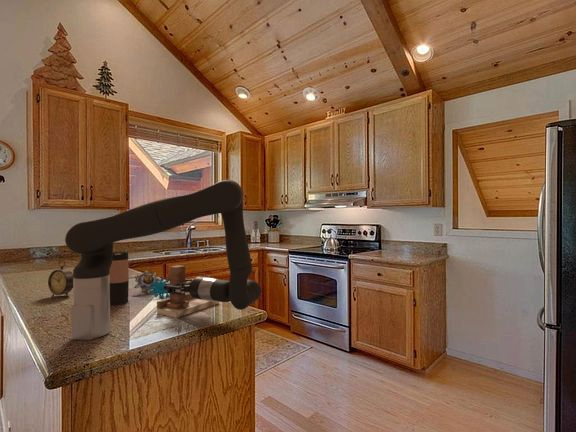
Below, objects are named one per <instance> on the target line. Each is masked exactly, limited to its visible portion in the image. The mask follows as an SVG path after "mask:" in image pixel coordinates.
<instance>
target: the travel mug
mask: <svg viewBox="0 0 576 432" xmlns="http://www.w3.org/2000/svg"><path fill="white" fill-rule="evenodd" d="M129 270H130V269H129V252H123V251H121V252H120V251H119V252H113V259H112V265H111V267H110V306H111V305H112V306H115V305H116V306H118V305H123V304H127V303H128V302H129V286H130V285H129V283H130V278H129V277H130V276H129V275H130V274H129V272H130V271H129Z"/></svg>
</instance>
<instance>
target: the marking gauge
mask: <svg viewBox="0 0 576 432" xmlns="http://www.w3.org/2000/svg"><path fill="white" fill-rule="evenodd" d="M185 279H186V265H178V264H177V265H172V266H169V283H170V284H177V283H179V282H185ZM182 285H183V284H181V285H180V287H181V288H182ZM169 298H170V302H169V303H167V308H171V309H176V310H177V309H180V308H183V307H186V306H189V301H186V293H181V294H180V295H178V294H171V293H169Z"/></svg>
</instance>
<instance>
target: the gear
mask: <svg viewBox="0 0 576 432" xmlns="http://www.w3.org/2000/svg"><path fill="white" fill-rule="evenodd" d="M164 279H165V278H163V277H160V280H161V281H160V282H159V283H158V279H155V282H156V285H155V284H154V282H152V283H151V285H153V286H154V287H155V288H153V287H152V286H150V290H151V291H150V294H151V295H153V294H154V297H155V298H158V297H159V298H160V299H164V295H165V298H170V293H167V290H164V284H165V283H169V284H170V279H168V278H166V279H165V281H164Z"/></svg>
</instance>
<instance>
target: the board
mask: <svg viewBox="0 0 576 432" xmlns="http://www.w3.org/2000/svg"><path fill="white" fill-rule="evenodd" d="M186 301H189V306H186V307H183V308H180V309H177V310H176V309H171V308H167V303H169V302H170V297H167V298H165V299H164V298H163V299H161V300H157V301H156V314H157V315H160V314H161V316H164V315H166V316H165V317H169V316H170V318H174V317H175V318H174V319H178V318H180V316H181V317H184V316H187V315H189V314H192V313H194V312H198V311H200V310H203V309H206V308H209V307H212V306H215V305H218V304H219V303H220V302H218V301H207V300H201V299H196V298H193V297H192V296H191V294H190V293H186ZM186 314H187V315H186ZM183 315H184V316H183ZM177 317H178V318H177Z"/></svg>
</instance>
